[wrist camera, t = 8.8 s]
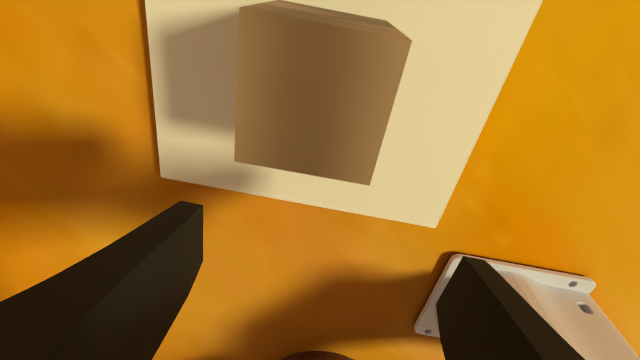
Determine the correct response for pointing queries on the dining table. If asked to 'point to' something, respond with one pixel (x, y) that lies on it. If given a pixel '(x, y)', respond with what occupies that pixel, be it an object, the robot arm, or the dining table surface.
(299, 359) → the food container
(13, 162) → the dining table surface
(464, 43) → the cream mat
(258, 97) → the walnut block
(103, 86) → the dining table surface
